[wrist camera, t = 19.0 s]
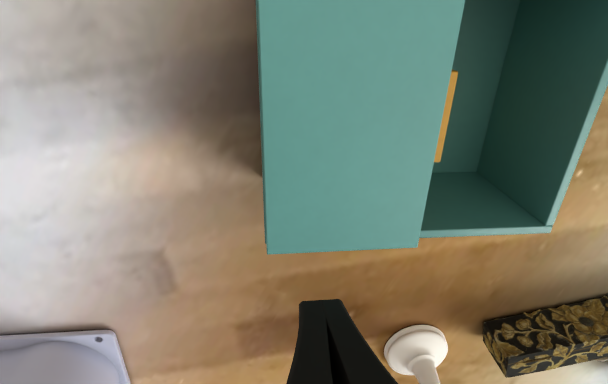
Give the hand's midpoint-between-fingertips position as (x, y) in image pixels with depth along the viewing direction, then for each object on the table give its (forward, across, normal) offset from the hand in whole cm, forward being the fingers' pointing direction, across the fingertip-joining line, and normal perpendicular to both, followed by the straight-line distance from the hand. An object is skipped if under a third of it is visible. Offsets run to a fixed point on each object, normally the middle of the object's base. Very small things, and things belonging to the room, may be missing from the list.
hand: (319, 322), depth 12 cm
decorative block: (+10, -22, +11) cm, 27 cm away
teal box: (+10, -5, -6) cm, 13 cm away
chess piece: (+10, -9, +14) cm, 20 cm away
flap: (+3, -1, -6) cm, 7 cm away
